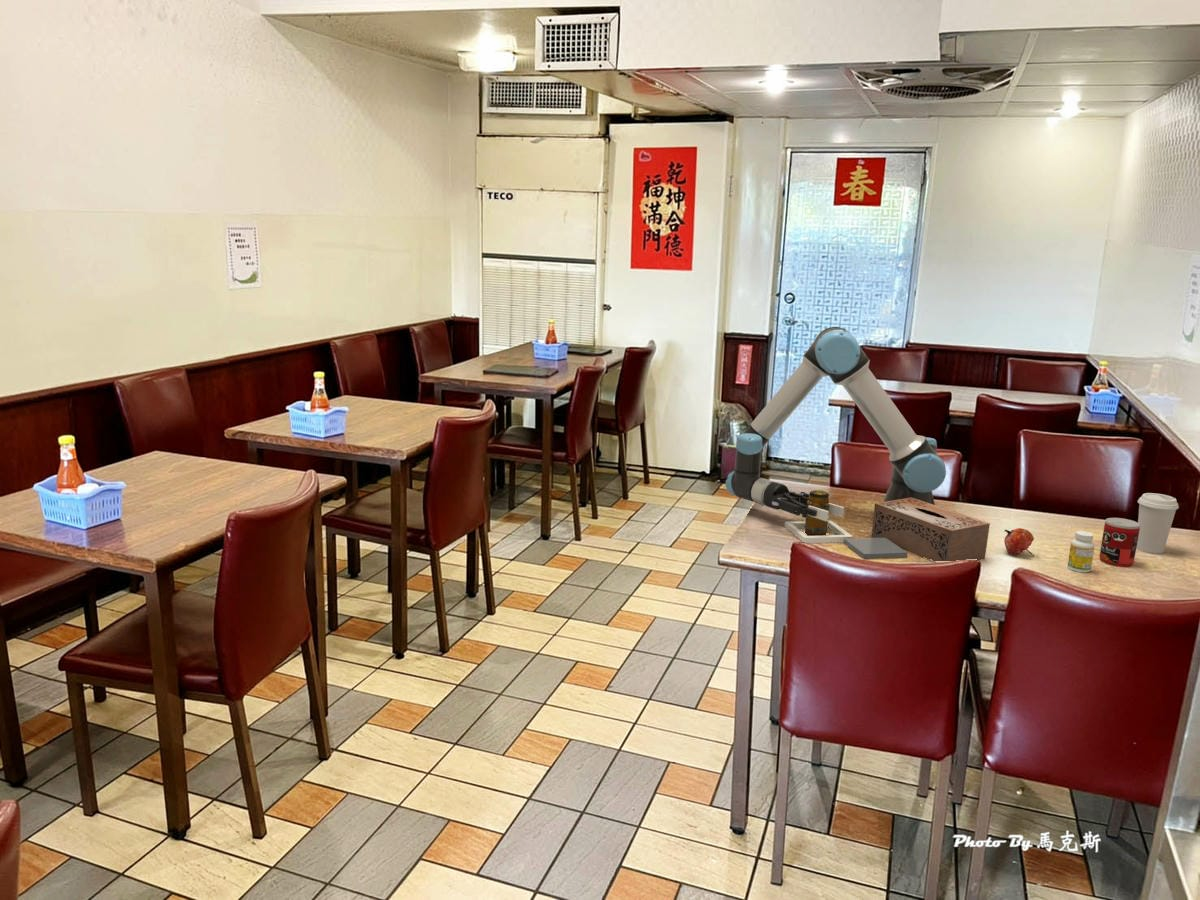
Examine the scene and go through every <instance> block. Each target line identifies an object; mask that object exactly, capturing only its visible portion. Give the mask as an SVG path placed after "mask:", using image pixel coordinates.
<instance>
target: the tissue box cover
mask: <svg viewBox="0 0 1200 900" xmlns="http://www.w3.org/2000/svg"><path fill="white" fill-rule="evenodd" d="M990 525H991V524H990V523H989V522H988V521H987V522H986V521H984V520H980V519H977V518H975V517H972V516H968V515H966V514H963V513H959V512H957V511H953V510H951V509H948V508H945V507H942V506H938V505H933V504H930V503H927V502H924V501H921V500H918V499H915V498H912V497H911V498H905V499H899V500H893V501H887V502H883V501H882V502H881V501H880V502H876V503H874V510H873V519H872V527H871V537H870V538H887V539H888V540H890V541H891V542H893V543H894V544H896V545H897V546H899V547H900V548H901V549H903V550H904V551H906V552H907V553H911V554H913V555H915V554H916V555H915V556H918V555H919V556H918V557H920V556H921V558H923V557H925V558H927V559H926V560H928V559H932V560H933V561H956V560H966V559H977V560H978V561H982V560H985V559H986V555H987V554H986V553H987V546H988V540H989V534H990V533H989V532H990V527H991V526H990ZM925 558H924V559H925ZM981 559H982V560H981ZM933 561H932V562H933Z"/></svg>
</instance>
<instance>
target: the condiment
mask: <svg viewBox="0 0 1200 900" xmlns="http://www.w3.org/2000/svg"><path fill="white" fill-rule="evenodd" d="M808 494H809V500H808V502H807V508H808V506H813V507H816V508H820V509H823V510H826V511H829V503H830V499H829V497H830V494H829V492H827V491H824V490H819V489H813V490H810V492H809V493H808ZM828 501H829V502H828ZM804 521H805V528H804V531H805V533H806V534H807V536H824V535H826V532H827V533H829V535H835V533H831V532H828V528H827V525H828V521H829V520H828V521H823V520H820V519H817V518H814V517H811V516H808V515H807V514H806V518H805V520H804Z"/></svg>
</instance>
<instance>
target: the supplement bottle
mask: <svg viewBox="0 0 1200 900" xmlns="http://www.w3.org/2000/svg"><path fill="white" fill-rule="evenodd" d="M1074 537H1075V538H1074V539H1072V540H1071V541H1070V547H1069V552H1068V553H1069V554H1068V558H1067V559H1068V560H1067V568H1068V569H1069V570H1071V571H1073V572H1076V573H1085V574H1086V573H1089V572H1091V570H1092V565H1093V558H1094V553H1095V546H1096V545H1095V543H1094V542H1093V540H1094V534H1093V533H1092V532H1088V531H1084V530H1083V531H1082V530H1078V531H1075V534H1074Z"/></svg>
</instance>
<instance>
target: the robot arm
mask: <svg viewBox="0 0 1200 900" xmlns="http://www.w3.org/2000/svg"><path fill="white" fill-rule="evenodd" d="M802 359H803V361H802V362H801V363H800V364H799V365H798V367H797V368H796V369H795V370H794V371H793V373H792V374H791V375H790V376H789V378H788V379H787V380H786V381H785V382H784V384H783V385H782V386H781V387H780V388H779V389H778V391H777V392H776V393H775V394H774V395H773V396H772V398H771V399H770V400H769V401H768V403H767V404H766V405H765V406H764V407H763V409H762V410H761V411H760V412H759V413H758V415H756V417H755V418H754V420H753V421H752V422H751V423H750V425H749V426H748V427H747V428H745V430H744V431H743V432H741V433H740V434H738V436H737V437H736V443H735V460H734V461H735V464H734V470H733V471H731V472H730V473H729V474H728V475H727V479H725V489H726V491H727V492H728V493H729V494H731V495H733V496H736V498H739V499H743V500H746V501H751V502H752V503H756V504H759V505H760V506H761V507H764V506H766V507H767V508H771V509H774V510H781V511H785V512H786V513H790V514H792V515H795V516H798V517H799V516H801V518H803V519H804V518H805V519H806V514H807V515H808V516H811V517H814V518H817V519H820V520H823V521H829V517H830V515H833V516H836V517H840V518H844V516H845V506H841V505H837V504H834V503H831V502H830V500H829V501H828V502H829V511H826V510H823V509H820V508H816V507H813V506H808V508H807V502H808V500H809V493H806V492H805V491H800V493H796V492H795V491H790V490H789V488H788V486H786V485H785V484H783V483H780V482H777V481H773V480H770V479H766V478H763V477H760V476H761V474H760V473H761V464H762V463H761V462H762V451H763V448H764V447H765V446H766V444H767V443H768V442H769V441H770V440H771V438H772V437H773V436H775V435H774V434H776V432H777V431H778V430H779V429H780V428H781V426H782V425H783V424H784V423H785V422H786V421H787V420H788V418H789V417H790V416H791V415H792V414H793V413H794V411H795V410H796V409H797V408H798V406H799V405H800V404H801V403H802V402H803V400H805V399H806V397H807V396H808V395H809V394H810V392H812V390H813V389H814V388H815V387H816V386H817V385H818V383H819V382H820V381H821V379H823V378H824V377H829V378H830V379H831V381H832V382H833V384H834V385H839V386H842V387H843V388H844V389H845V391H846V392H847V393H848V395H849V396H850V398H851V399H852V401H853V402H854V403H855V405H856V406H857V407H858V409H859V411H860V412H861V413H862V415H863V416H864V417H865V418H866V420H867V422H868V423H869V425H870V426H871V427H872V428H873V430H874V431H875V432H876V434H877V435H878V436H879V438H880V440H881V441H882V442H883V444H884V445H885V447H886V448H887V449H888V451H889V457H888V459H889V461H890V462H891V464H892V466H893V467H892V472H891V482H890V485H889V487H888V489H887V491H886V494H885V496H884V498H883V501H882V502H887V501H893V500H899V499H905V498H911V497H912V498H915V499H918V500H921V501H924V502H927V503H930V504H933V505H935V500H934V495H933V491H935V490H937V489H938V488H939V487H941V486H942V484H943V482H944V481H945V479H946V477H947V476H946V475H947V469H946V464H945V461H944V460H943V459H942V458H941V457H940V456H939V455H938V453H937V452H936V451H937V448H938V445H937V444H938V443H937V440H936V439H935V438H932V437H926V436H924V435H917V434H916V433H915V431H914V430H913V428H912V427H911V425H910V424H909V422H908V421H907V420H906V418H905V417H904V415H903V414H902V413H901V412H900V410H899V409H898V407H897V406H896V404H895V403H894V402H893V400H892V398H891V396H889V395H888V393H887V391H886V390H885V389H884V388H883V387H882V385H881V384H880V382H879V381H878V379H877V378H876V377H875V375H874V374H873V372H872V371H871V370H870V368H869V366H870V361H871V360H870V358H869V357H868V356H867V354H866V353H865V352H864V350H863V349H862V347H861V346H860V345H859V341H858V340H857V339H856V338H855V336H854V335H853V334H851V333H850V332H849V331H848V330H846V329H845V328H843V327H841V326H840V327H839V326H830V327H826V328H825V329H823V330H822V331H821V332H820V333H818V334H817V336H816V337H815V339H814V340H813V342H812V344H810V347H808V349H807V351H806V352H805V353H804V354H803V355H802ZM829 514H830V515H829Z"/></svg>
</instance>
